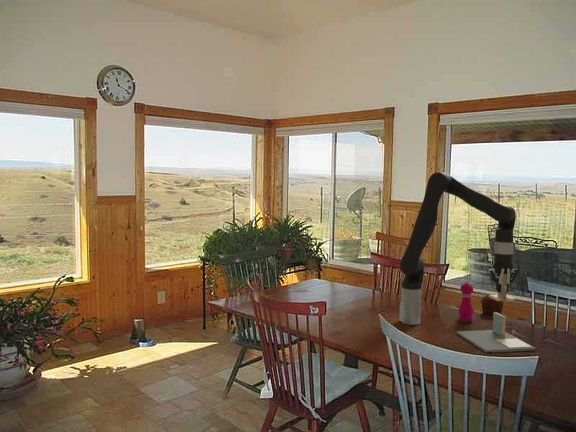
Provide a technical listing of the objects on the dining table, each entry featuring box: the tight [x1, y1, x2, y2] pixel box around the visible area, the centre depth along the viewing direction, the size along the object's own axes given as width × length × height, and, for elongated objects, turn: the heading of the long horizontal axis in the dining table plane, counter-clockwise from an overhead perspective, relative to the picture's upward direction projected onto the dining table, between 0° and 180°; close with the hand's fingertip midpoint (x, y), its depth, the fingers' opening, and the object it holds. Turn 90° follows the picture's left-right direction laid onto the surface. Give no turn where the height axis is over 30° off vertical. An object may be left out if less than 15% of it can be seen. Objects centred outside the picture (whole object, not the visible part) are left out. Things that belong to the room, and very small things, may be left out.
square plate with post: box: [488, 274, 516, 302], centre depth 205 cm, size 8×7×11 cm
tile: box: [492, 312, 507, 337], centre depth 212 cm, size 2×7×9 cm, turn 9°
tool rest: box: [495, 337, 533, 348], centre depth 201 cm, size 10×10×1 cm
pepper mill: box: [457, 280, 475, 323], centre depth 236 cm, size 7×7×20 cm
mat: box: [456, 329, 536, 354], centre depth 206 cm, size 22×24×1 cm
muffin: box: [480, 294, 505, 318], centre depth 247 cm, size 12×11×10 cm
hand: (502, 291), depth 205 cm, fingers closed on square plate with post, 2 cm apart
